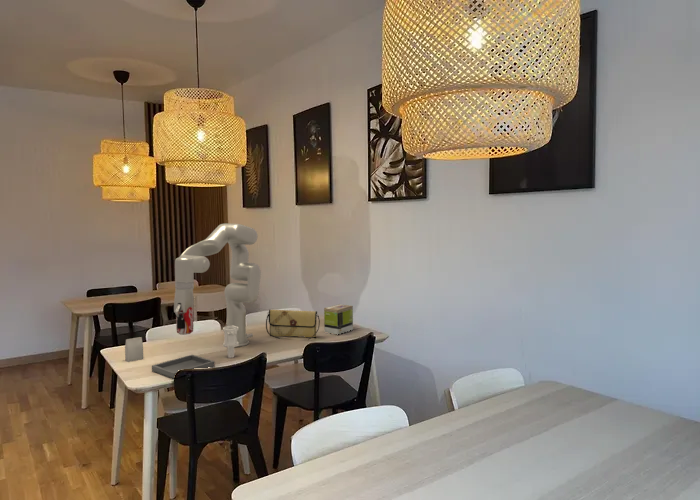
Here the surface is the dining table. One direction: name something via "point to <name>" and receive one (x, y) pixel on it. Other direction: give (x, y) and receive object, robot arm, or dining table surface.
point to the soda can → (187, 322)
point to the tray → (181, 365)
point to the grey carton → (134, 349)
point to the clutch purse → (292, 323)
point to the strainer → (230, 339)
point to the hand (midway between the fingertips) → (184, 326)
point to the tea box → (338, 319)
